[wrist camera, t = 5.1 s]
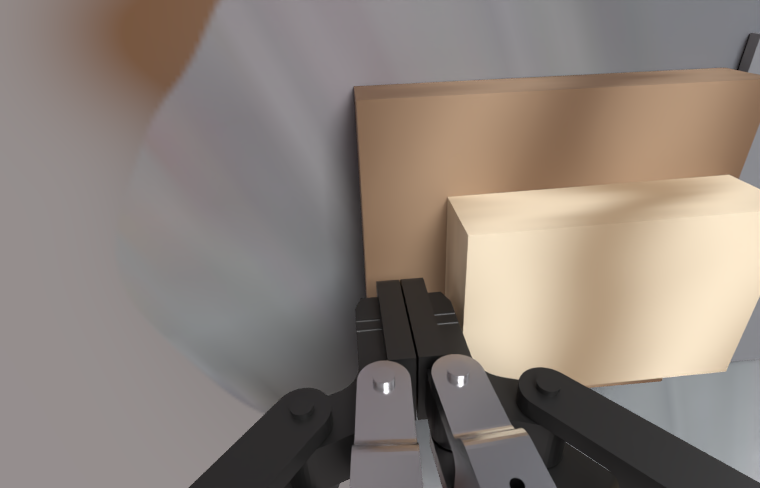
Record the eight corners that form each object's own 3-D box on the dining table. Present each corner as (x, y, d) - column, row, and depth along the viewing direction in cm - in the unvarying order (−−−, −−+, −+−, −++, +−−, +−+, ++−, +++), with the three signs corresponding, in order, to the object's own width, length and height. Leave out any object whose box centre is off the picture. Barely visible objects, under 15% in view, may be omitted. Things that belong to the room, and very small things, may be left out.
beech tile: (729, 174, 14) (799, 207, 12) (676, 323, 17) (725, 371, 15) (447, 196, 14) (468, 235, 12) (443, 345, 17) (459, 398, 15)
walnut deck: (724, 67, 15) (777, 78, 13) (633, 348, 21) (661, 381, 19) (353, 86, 14) (356, 100, 12) (370, 370, 20) (374, 407, 18)
